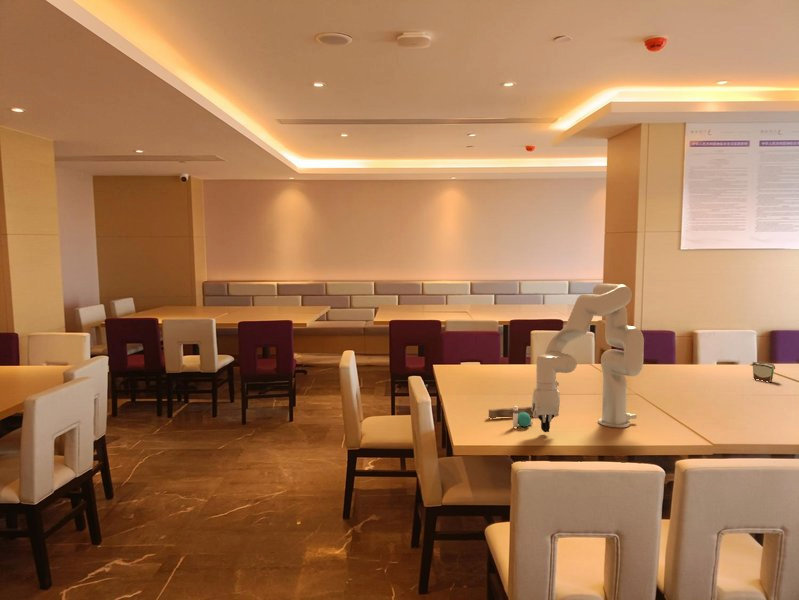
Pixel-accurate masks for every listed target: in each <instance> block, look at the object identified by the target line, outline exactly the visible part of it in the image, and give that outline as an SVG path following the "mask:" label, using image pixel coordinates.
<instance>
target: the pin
mask: <svg viewBox="0 0 799 600" xmlns="http://www.w3.org/2000/svg"><path fill="white" fill-rule="evenodd" d="M518 407H519V406H518V405H513V406H512V408H513V418H512V428H513V427H518V428H519V424H518Z"/></svg>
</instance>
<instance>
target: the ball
mask: <svg viewBox="0 0 799 600" xmlns="http://www.w3.org/2000/svg"><path fill="white" fill-rule="evenodd" d="M531 421H532V418H531V417H530V415H529V414H528V413H525V412H521V413H519V414H518V426H520V427H522V426H523V428H525V427H528V426H530V425H529V424H530V422H531Z"/></svg>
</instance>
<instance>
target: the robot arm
mask: <svg viewBox="0 0 799 600" xmlns="http://www.w3.org/2000/svg"><path fill="white" fill-rule="evenodd" d="M632 297H633V293H632V290H631V288H630V287H629V286H627V285H625V284H616V283H598V284H596V285H595V286H593V288H592V293H590V294H589V293H584V294H581V295H579V296H578V297H577V299H576V300H575V303H574V304H573V308H572V310H571V313H570V315H569V317H568V319H567V322H566V323H565V325H564V327H563V328H562V329H561V330H559V331H558V332H557V333H556V334H555V335H554V336H553V337H552V338H551V339H550V341H549V343H548V344H547V347H546V350H545V352H544V354H543V353H542V354H539V355H538V356H536V373H535V374H536V380H535V381H536V382H535V383H536V384H535V385H536V387H535V388H534V389H533V393H532V399H531V407H532V412H533V418H535V419H539V421H540V428H541V431H543V432H544V433H549V432H550V427H551V422H552V420H553V419H554V418H556V417H558V416H559V415H560V414H559V412H560V406H559V397H558V391H559V390H558V389H556V386H557V387H558V386H559V385H560V382H558V381H557V374H558V373H559V374H570V373H573V372H574V371H575V370H576V368H577V365H578V363H577V358H575V357H574V356H572V354H571V355H570V354H567V353H564V352H563V350H564V348H565V347H566V346H567V345H568V344H569V343H570V342H573V341H574V340H578V339H579V338H582V337H585V336H586V335H587V333H588V330H589V327H590V326H591V323H592V320H593V318H594V316H595V317H605V329H604V330H605V331H604V332H605V336H604V337H605V342H606V344H607V345H609V346H611V347H615V348H619V349H623V350H619V349H611V348H610V349H607V350H605V351H604V352H603V353H602V354H601V356H600V357H601V358H600V366H601V371H602V406H601V407H602V408H601V414H602V415H601V417H600V418H597V419H598V420H597V422H598V424H600V425H602V426H604V427H610V428H616V429H617V428H618V429H619V428H620V429H621V428H622V429H623V428H628V427H630V426H631V421H630V420H636V419H637V418H638V416H637V414H636V413H633V414H632V413H630V412H628V413H627V406H628V405H627V403H628V401H627V400H628V399H627V397H628V393H627V392H628V382H627V381H628V380H627V377H637V376H639V375H640V374H641V372H642V370H643V368H644V356H645V355H644V351H645V350H644V349H645V347H644V346H645V338H644V334H643V332H642V331H641V329H640V328H639V327H636V326H632V325H628V311H627V310H628V309H627V308H626V306H627V305H628V304H629V303H630V302H631V300H632ZM626 376H627V377H626ZM556 381H557V382H556ZM557 390H558V391H557Z"/></svg>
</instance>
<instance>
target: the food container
mask: <svg viewBox="0 0 799 600" xmlns="http://www.w3.org/2000/svg"><path fill="white" fill-rule="evenodd" d="M751 366H752V372H753V373H752V375H753V376H752V377H753V378H754V379H759V380H763V381H768V382H772V383H773V378H774V377H773V376H774V370H776V365H775V364H773V363H770V362H763V361H752V363H751ZM754 379H753V380H754Z"/></svg>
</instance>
